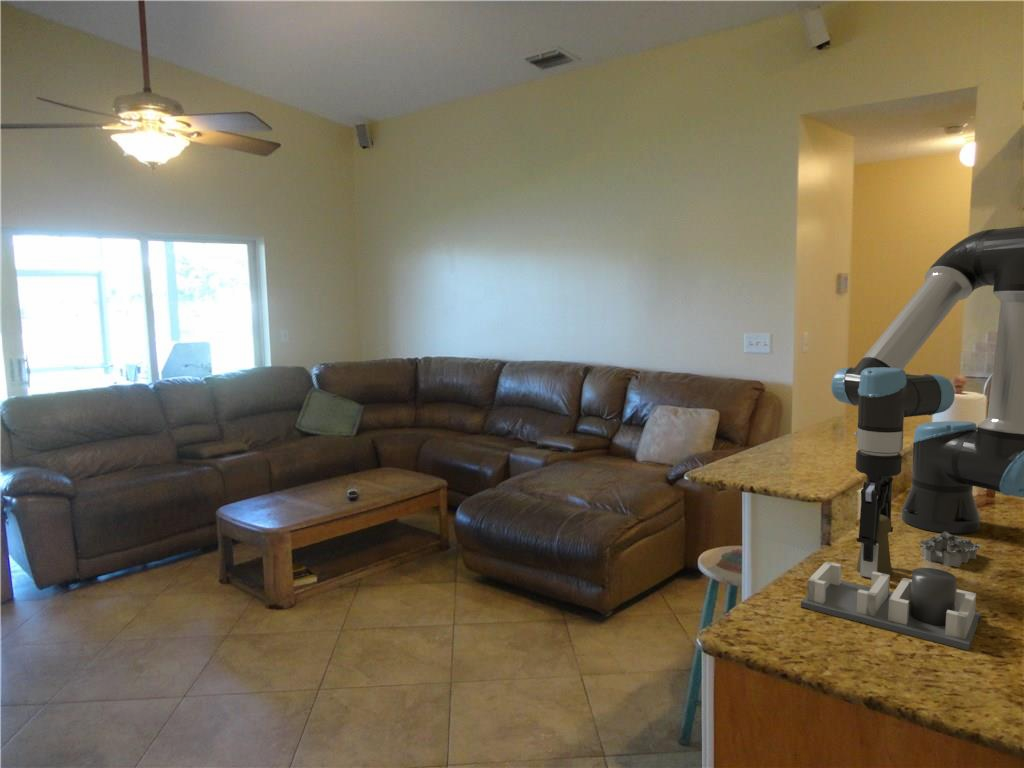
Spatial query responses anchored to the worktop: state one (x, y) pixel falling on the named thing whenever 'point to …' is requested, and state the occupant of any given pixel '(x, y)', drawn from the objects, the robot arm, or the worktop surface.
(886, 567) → the cork
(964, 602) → the socket board
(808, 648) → the worktop surface
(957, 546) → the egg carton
